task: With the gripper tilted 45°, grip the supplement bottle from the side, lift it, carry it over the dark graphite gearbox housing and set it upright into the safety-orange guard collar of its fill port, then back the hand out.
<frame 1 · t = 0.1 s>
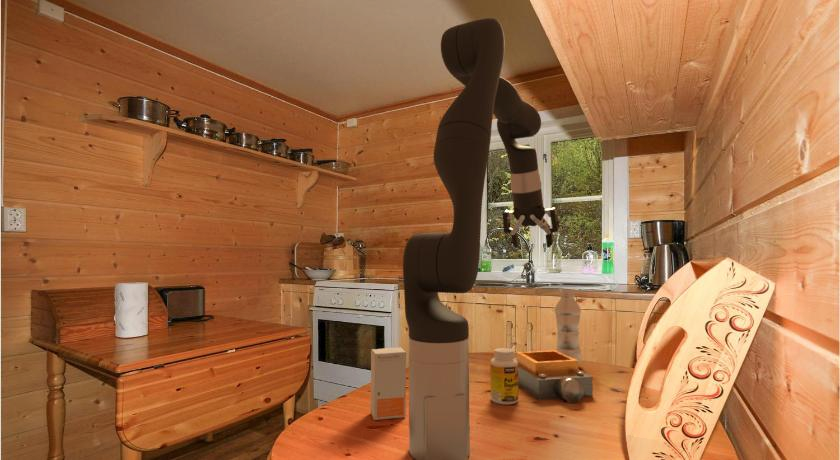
hand: (533, 246, 117), 31 cm above the table, tool tilted 20°, fingers open, 8 cm apart
gearbox housing: (546, 385, 98), on the table
plastic bottle: (568, 367, 113), on the table
skincare box: (388, 416, 81), on the table
supplement bottle: (504, 401, 88), on the table
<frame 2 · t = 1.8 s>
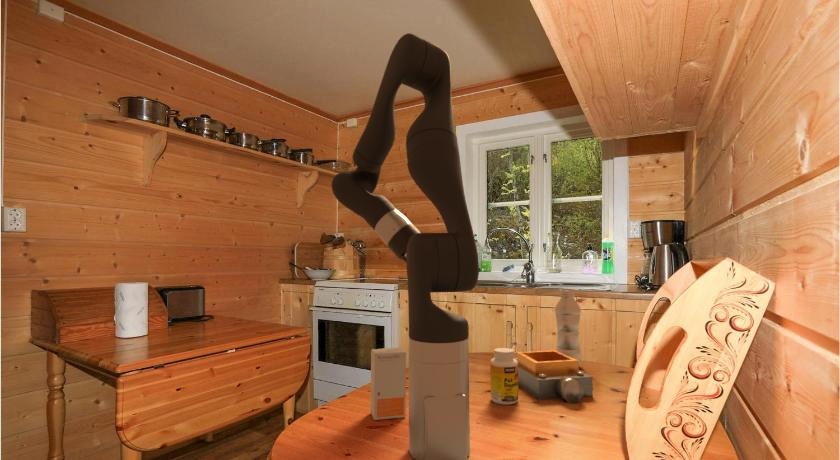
hand: (448, 287, 93), 23 cm above the table, tool tilted 45°, fingers open, 8 cm apart
nothing on the table moved.
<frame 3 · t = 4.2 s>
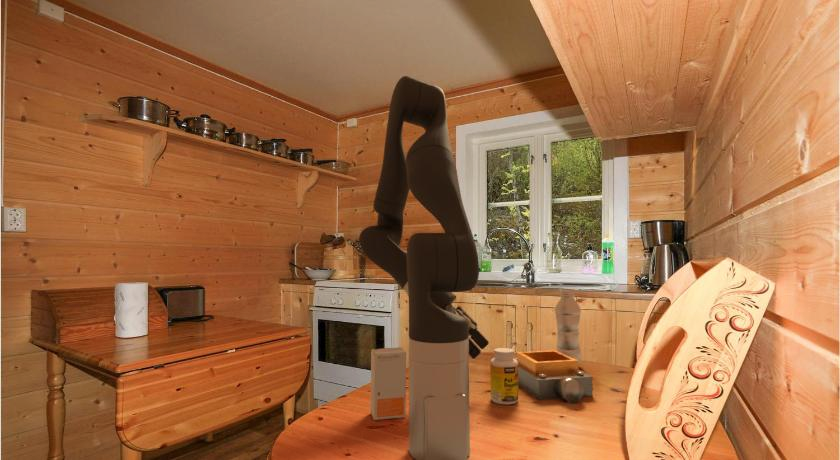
hand: (482, 350, 90), 10 cm above the table, tool tilted 45°, fingers open, 8 cm apart
nothing on the table moved.
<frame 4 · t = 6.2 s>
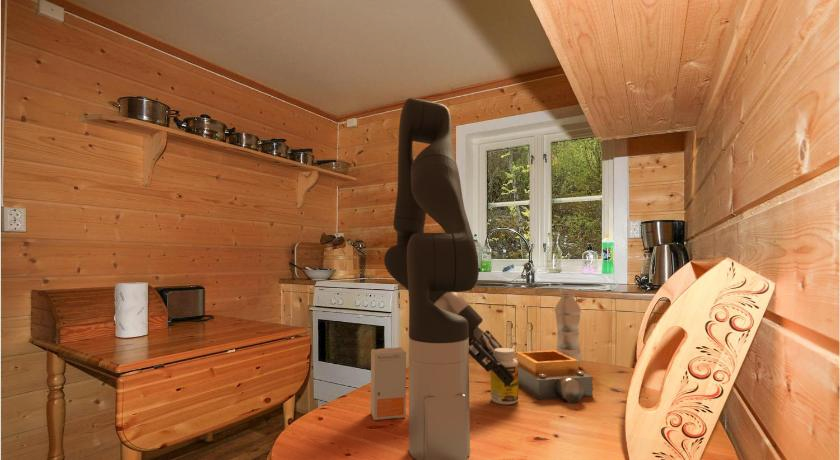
hand: (513, 377, 88), 5 cm above the table, tool tilted 45°, fingers closed on supplement bottle, 5 cm apart
supplement bottle: (504, 401, 88), on the table, touching gripper
everything else where it was.
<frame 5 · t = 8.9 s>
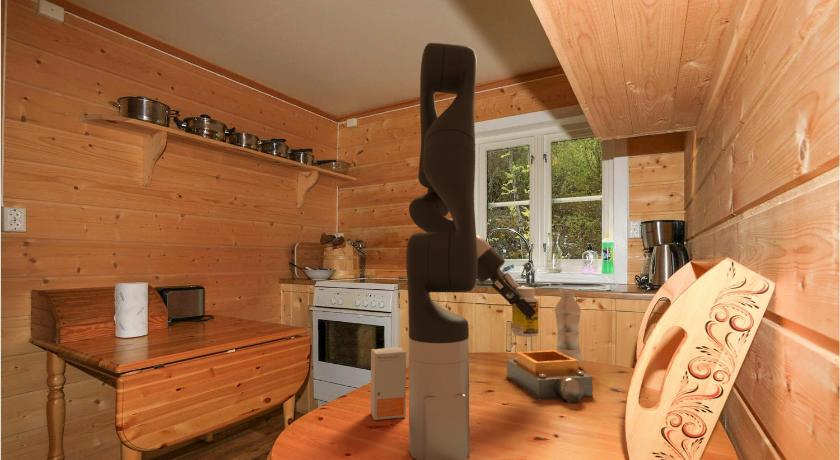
hand: (533, 313, 94), 17 cm above the table, tool tilted 45°, fingers closed on supplement bottle, 5 cm apart
supplement bottle: (525, 335, 95), point 12 cm above the table, touching gripper
everything else where it was.
when the fingers open (10 cm above the table, at t = 11.5 s): supplement bottle drops 1 cm, resting on gearbox housing.
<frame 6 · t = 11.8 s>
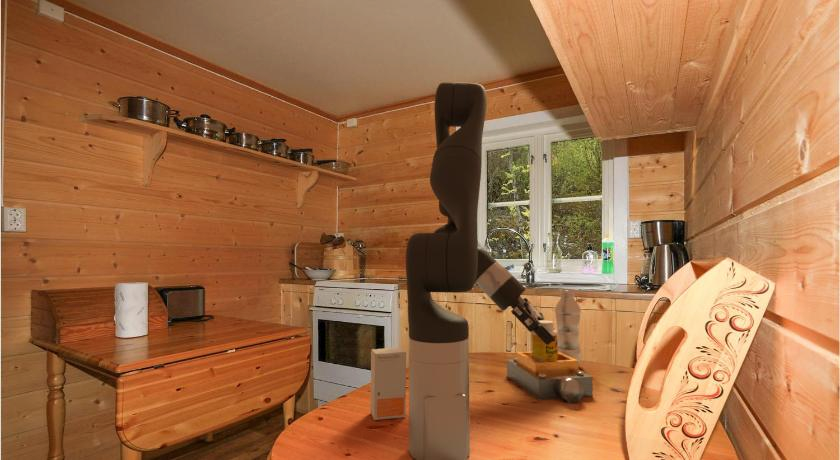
hand: (552, 338, 98), 11 cm above the table, tool tilted 45°, fingers open, 8 cm apart
supplement bottle: (545, 368, 98), point 4 cm above the table, touching gearbox housing
everything else where it was.
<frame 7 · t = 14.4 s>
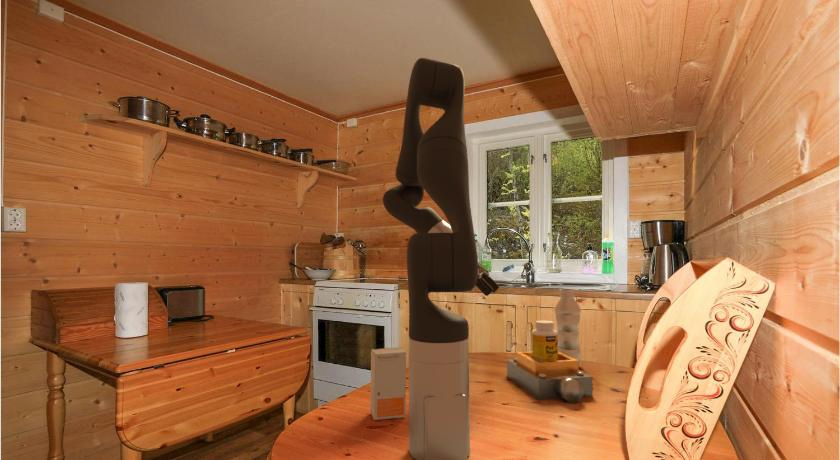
hand: (493, 291, 102), 21 cm above the table, tool tilted 45°, fingers open, 8 cm apart
nothing on the table moved.
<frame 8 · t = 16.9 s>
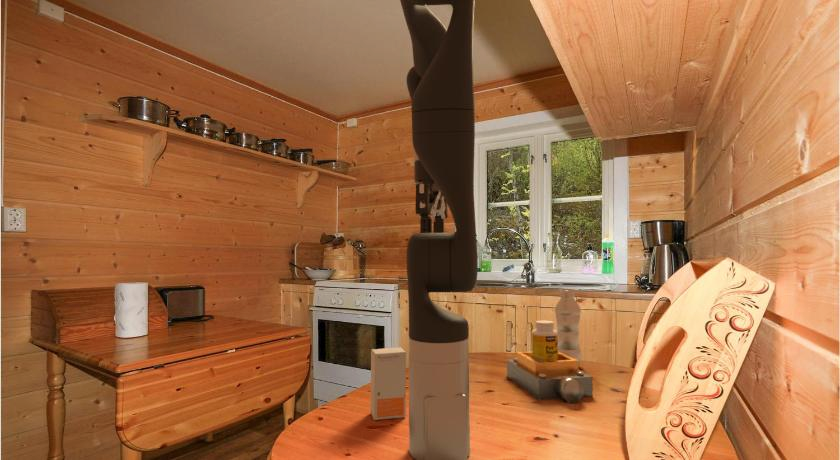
hand: (432, 237, 90), 33 cm above the table, tool pointing down, fingers open, 8 cm apart
nothing on the table moved.
at the end: supplement bottle 0.3 cm off-centre on the gearbox housing, point 3.8 cm above the gearbox housing's base; supplement bottle tilted 0°; the gripper is holding nothing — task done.
